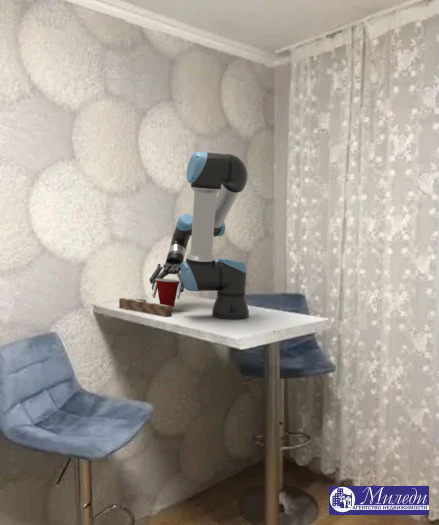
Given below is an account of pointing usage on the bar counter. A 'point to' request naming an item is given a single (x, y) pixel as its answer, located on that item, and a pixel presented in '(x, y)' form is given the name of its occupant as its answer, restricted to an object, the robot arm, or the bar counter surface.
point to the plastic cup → (167, 291)
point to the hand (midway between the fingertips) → (165, 296)
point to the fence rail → (145, 307)
